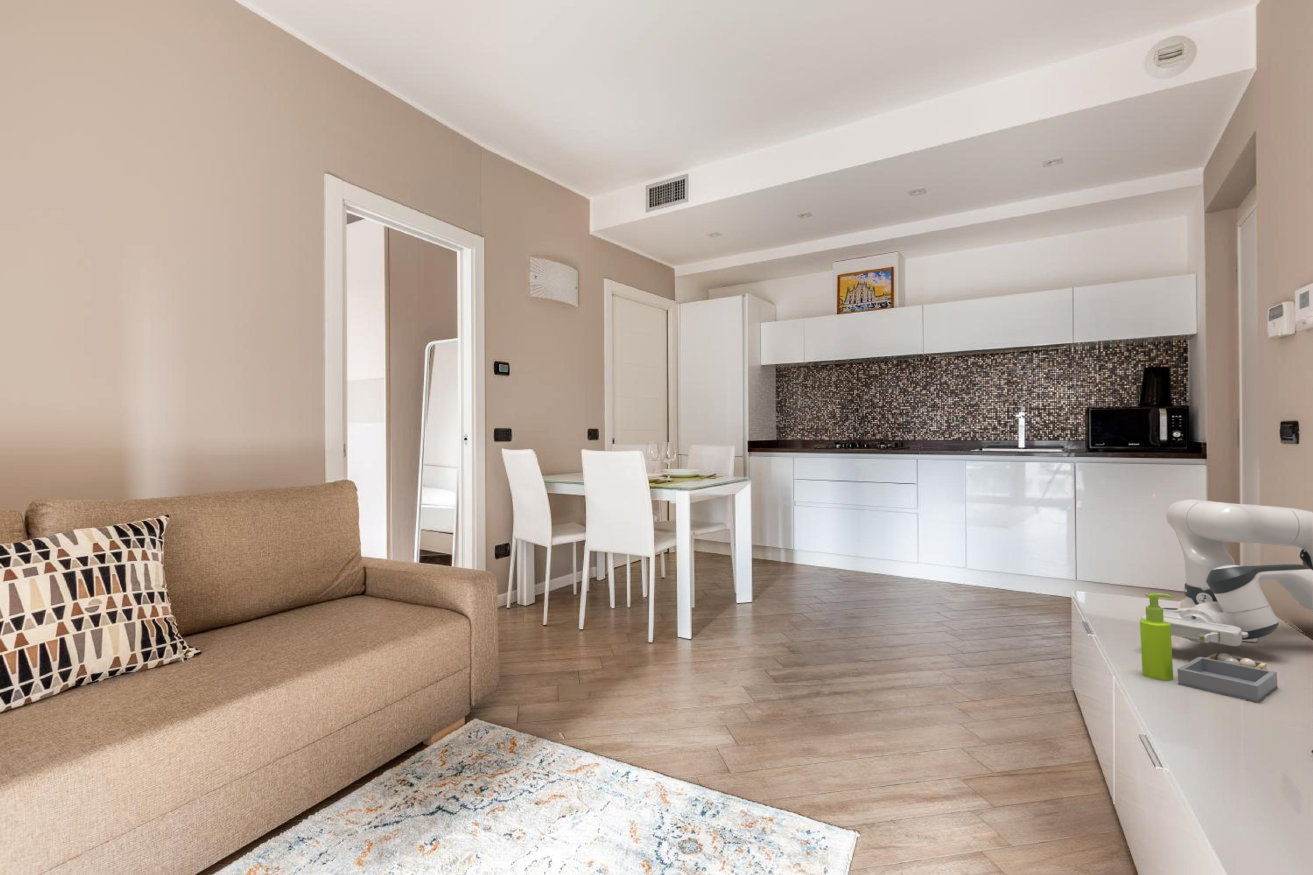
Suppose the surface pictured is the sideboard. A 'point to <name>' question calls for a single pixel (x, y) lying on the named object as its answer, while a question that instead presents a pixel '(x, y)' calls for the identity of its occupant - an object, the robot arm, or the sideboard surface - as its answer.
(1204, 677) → the dish
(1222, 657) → the pebble
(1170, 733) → the sideboard surface
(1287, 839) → the sideboard surface
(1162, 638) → the soap dispenser
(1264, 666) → the parts tray
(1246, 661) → the pebble
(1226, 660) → the pebble
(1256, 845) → the sideboard surface
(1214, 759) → the sideboard surface
